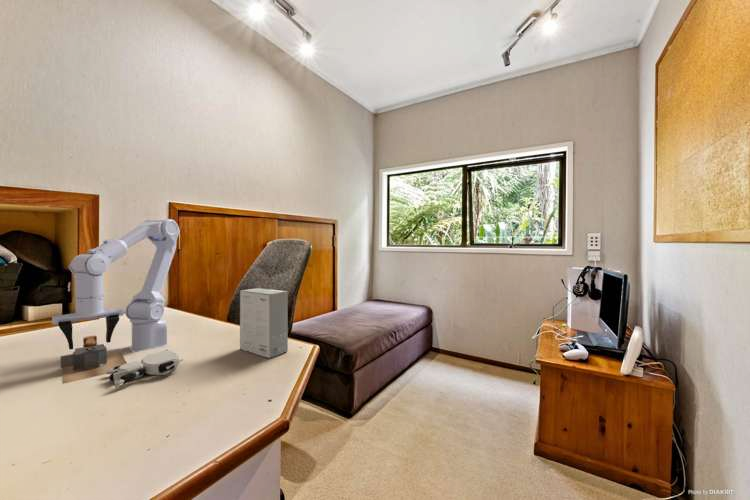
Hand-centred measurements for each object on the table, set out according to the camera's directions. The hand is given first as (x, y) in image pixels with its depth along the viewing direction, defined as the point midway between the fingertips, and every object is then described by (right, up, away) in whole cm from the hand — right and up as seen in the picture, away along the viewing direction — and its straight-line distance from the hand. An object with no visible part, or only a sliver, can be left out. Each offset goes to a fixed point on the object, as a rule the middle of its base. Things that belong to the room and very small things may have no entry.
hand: (90, 345), depth 86 cm
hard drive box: (+43, -7, +15) cm, 46 cm away
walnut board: (+1, -6, 0) cm, 7 cm away
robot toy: (+19, -7, -5) cm, 21 cm away
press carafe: (-1, -6, -1) cm, 6 cm away
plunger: (0, -5, 0) cm, 5 cm away
